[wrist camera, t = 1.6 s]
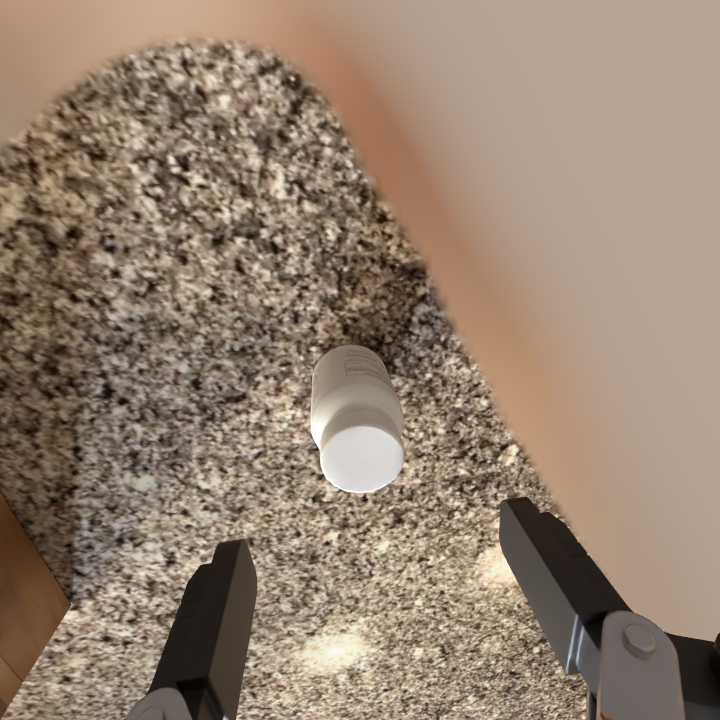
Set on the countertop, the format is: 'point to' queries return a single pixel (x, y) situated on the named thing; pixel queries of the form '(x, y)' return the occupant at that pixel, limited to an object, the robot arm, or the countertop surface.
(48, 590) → the shelf
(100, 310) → the countertop surface
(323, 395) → the pill bottle
